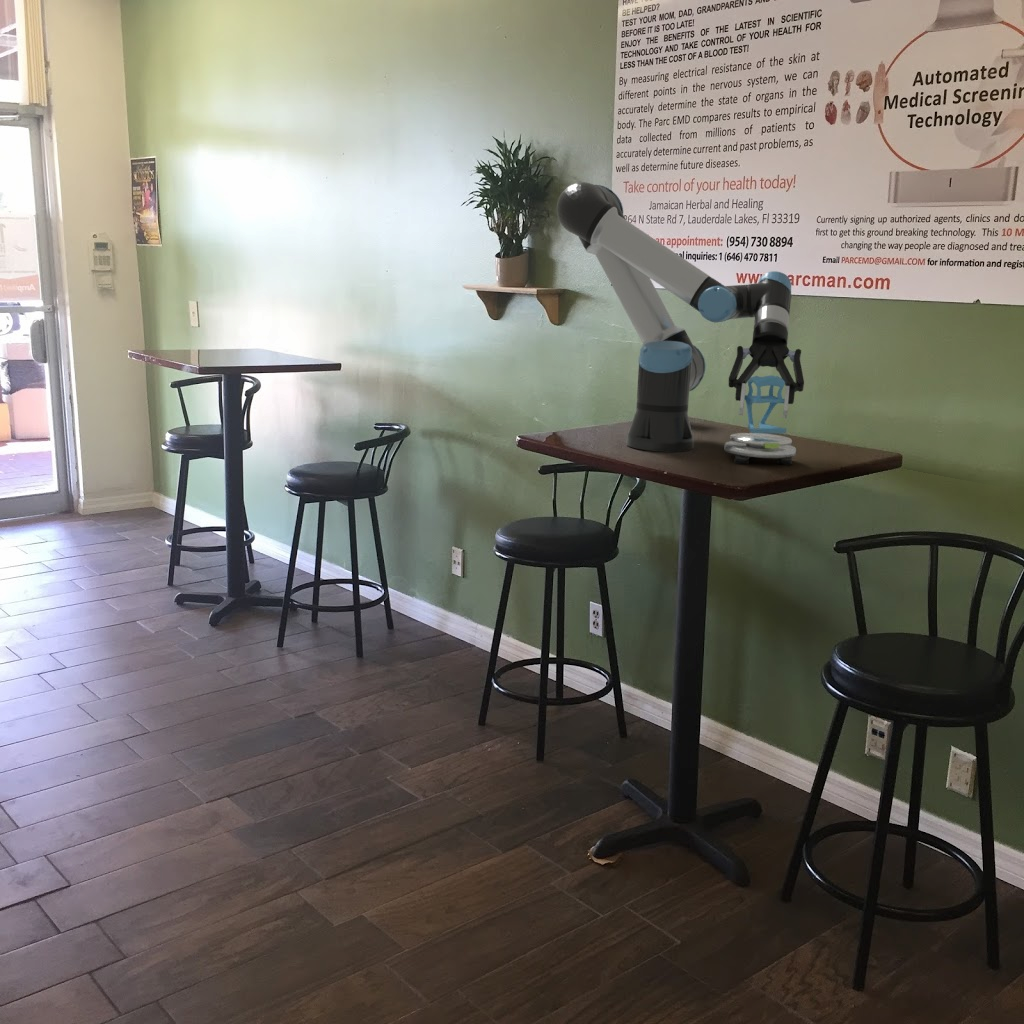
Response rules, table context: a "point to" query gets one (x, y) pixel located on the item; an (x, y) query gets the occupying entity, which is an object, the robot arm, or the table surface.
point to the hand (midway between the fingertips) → (763, 412)
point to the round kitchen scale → (760, 447)
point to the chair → (764, 399)
